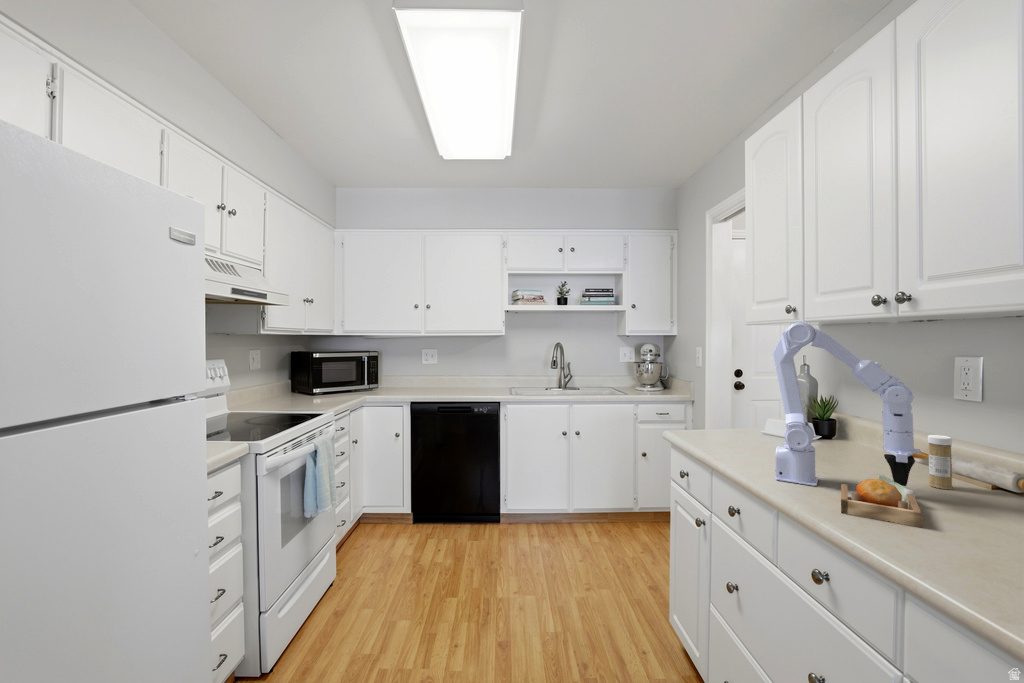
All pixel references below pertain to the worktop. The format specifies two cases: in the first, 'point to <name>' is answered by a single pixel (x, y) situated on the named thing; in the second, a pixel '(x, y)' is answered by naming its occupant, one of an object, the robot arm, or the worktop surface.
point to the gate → (899, 488)
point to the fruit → (878, 492)
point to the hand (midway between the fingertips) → (900, 484)
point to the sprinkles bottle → (940, 461)
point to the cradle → (882, 509)
